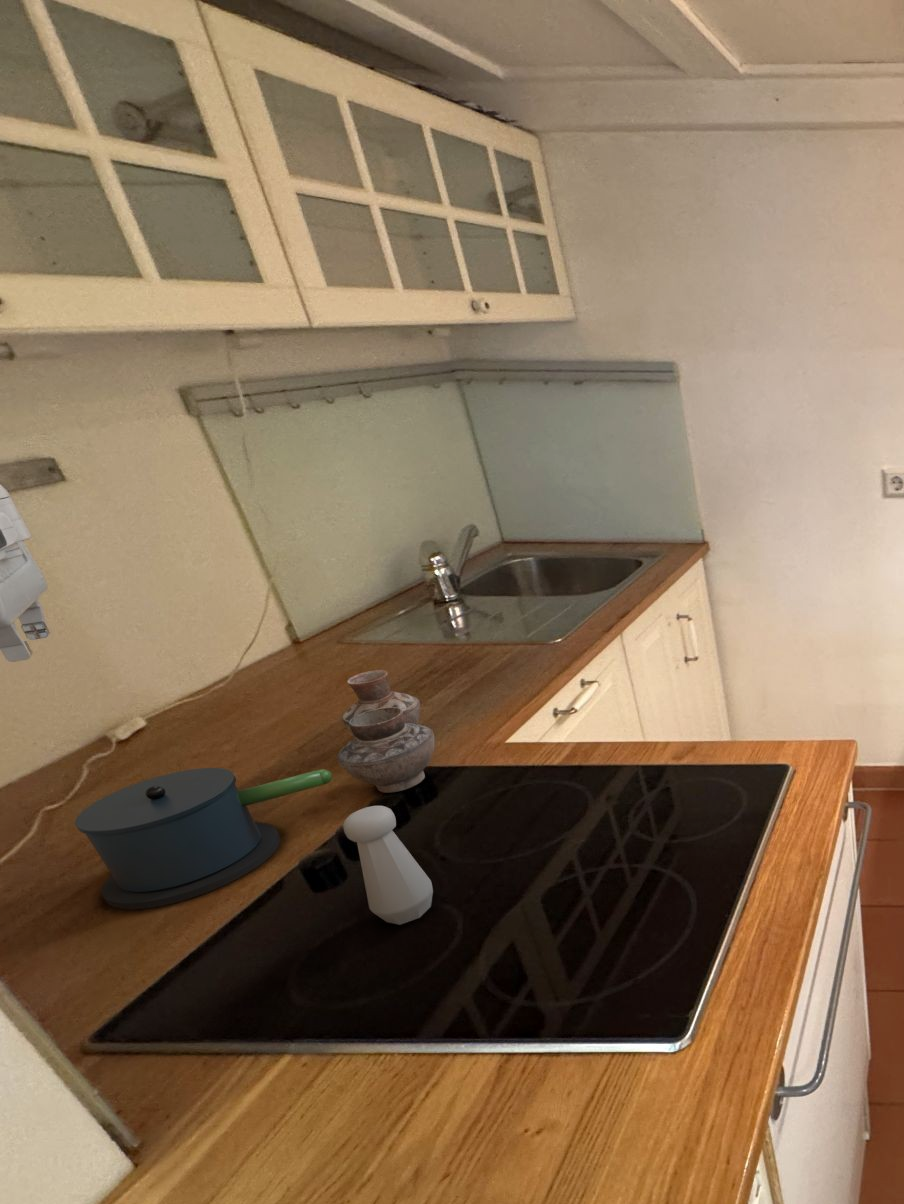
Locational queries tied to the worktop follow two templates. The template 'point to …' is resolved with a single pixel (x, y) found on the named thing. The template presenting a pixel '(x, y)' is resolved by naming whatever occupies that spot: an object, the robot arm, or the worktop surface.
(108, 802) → the pot
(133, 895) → the trivet
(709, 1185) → the worktop surface
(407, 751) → the pottery
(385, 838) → the salt shaker
